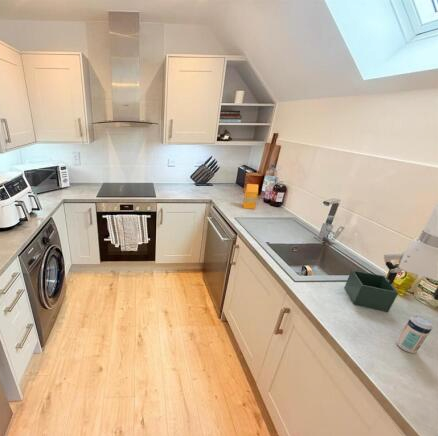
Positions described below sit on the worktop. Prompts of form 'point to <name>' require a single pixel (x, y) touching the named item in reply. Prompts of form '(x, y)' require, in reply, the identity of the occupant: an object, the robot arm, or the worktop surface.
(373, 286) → the waste bin
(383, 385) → the worktop surface
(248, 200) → the orange juice
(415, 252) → the robot arm
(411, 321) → the white and teal cylinder
